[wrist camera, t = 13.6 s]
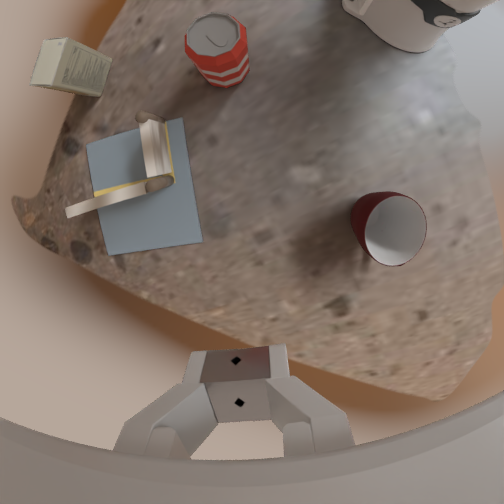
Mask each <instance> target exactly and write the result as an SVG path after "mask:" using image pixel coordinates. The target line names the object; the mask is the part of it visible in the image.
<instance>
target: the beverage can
mask: <svg viewBox="0 0 504 504" xmlns="http://www.w3.org/2000/svg"><path fill="white" fill-rule="evenodd" d="M186 31H187V33H186V35H185V52H186V54H187V55H188V56H189V58H190V59H191V60H192V62H193V63H194V65H195V66H196V67H197V69H198V70H199V72H200V73H201V74H202V76H203V77H204V78H205V79H206V80H207V81H208V82H209V83H210V84H211V85H213V86H219V87H224V88H228V87H231V86H233V85H236V84H238V83H241V82H242V81H243V79H244V78H245V76H246V75H247V73H248V72H249V71H250V70H249V57H248V47H247V36H246V28H245V27H244V26H243V25H242V24H241V23H239V22H238V21H237V20H236V19H235V18H234V17H231V16H230V15H229V14H225V13H217V12H211V13H208V14H205V15H203V16H200V17H198V18H196V19H195V20H194V21H193V23H192V24H191V25H190V27H189V28H188V29H187V30H186Z"/></svg>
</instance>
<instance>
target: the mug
mask: <svg viewBox="0 0 504 504" xmlns="http://www.w3.org/2000/svg"><path fill="white" fill-rule="evenodd" d="M351 225H352V228H353V231H354V233H355V235H356V237H357V239H358V241H359V243H360V245H361V246H362V248H363V249H364V250H365V251H366V253H367V254H369V255H370V256H371V257H372V258H373V259H374V260H375V261H377V262H378V263H380V264H383V265H386V266H402V265H403V264H405V263H406V262H408V261H410V260H411V259H412V258H413V257H414V256H415V255H416V254H417V253H418V252H419V250H420V249H421V247H422V245H423V243H424V240H425V237H426V230H427V224H426V218H425V215H424V212H423V210H422V208H421V207H420V205H419V204H418V203H417V202H416V201H415V200H413V199H412V198H410V197H408V196H405V195H402V194H400V193H396V192H376V193H369V194H366V195H364V196H362V197H361V198H360V199H359V200H358V201H357V202H356V203H355V205H354V206H353V209H352V212H351Z"/></svg>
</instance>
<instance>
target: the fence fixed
mask: <svg viewBox="0 0 504 504" xmlns="http://www.w3.org/2000/svg"><path fill="white" fill-rule="evenodd" d="M135 119H136V121H137V122H139V126H140V134H141V141H142V148H143V154H144V161H145V167H146V173H147V178H148V177H153V176H157V175H162V174H166V173H171V172H172V171H171V165H170V158H169V152H168V145H167V139H166V132H165V119H164V118H162V117H159V116H157V115H154V114H151V113H148V112H146V111H139V112H137V114H136V116H135ZM173 183H174V178H173V176H171V175H167V176H163V177H159V178H155V179H151V180H149V181H147V183H146V189H147V190H148V191H149V192H154V191H157V190H160V189H162V188H165V187H168V186H170V185H172V184H173Z"/></svg>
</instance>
